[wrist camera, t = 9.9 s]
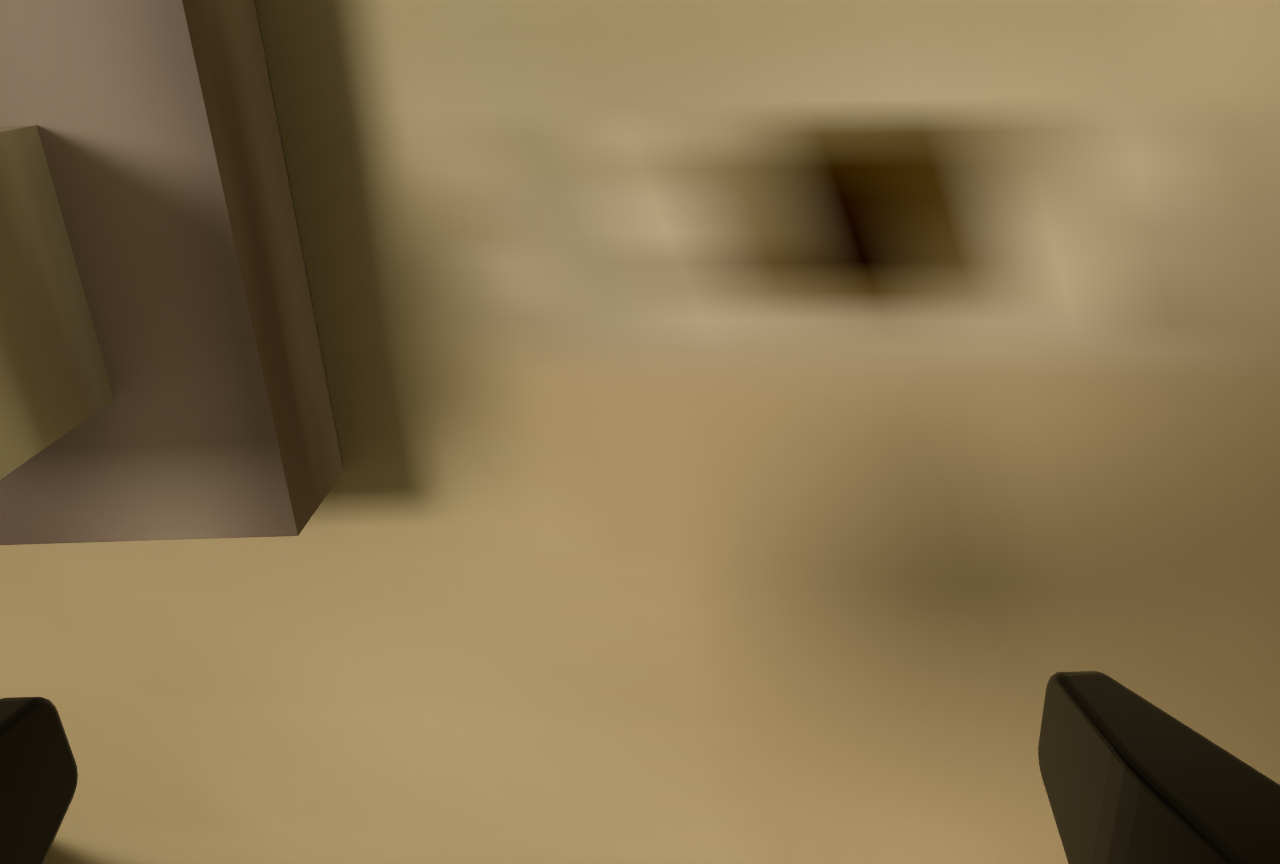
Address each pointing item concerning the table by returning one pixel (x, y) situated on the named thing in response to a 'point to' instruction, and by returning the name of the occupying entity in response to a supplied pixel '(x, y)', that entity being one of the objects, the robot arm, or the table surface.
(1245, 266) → the table surface
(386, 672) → the table surface
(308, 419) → the pedestal
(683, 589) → the table surface
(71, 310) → the beige cube
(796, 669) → the table surface
